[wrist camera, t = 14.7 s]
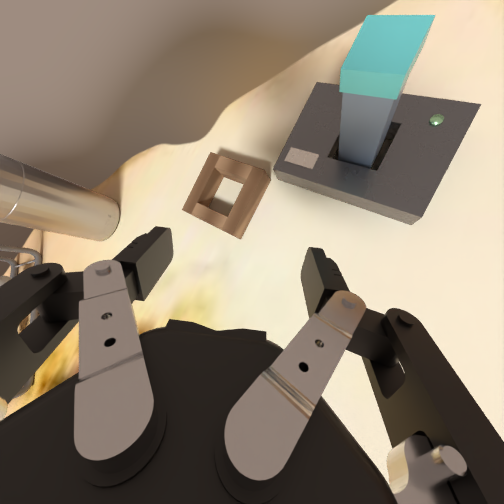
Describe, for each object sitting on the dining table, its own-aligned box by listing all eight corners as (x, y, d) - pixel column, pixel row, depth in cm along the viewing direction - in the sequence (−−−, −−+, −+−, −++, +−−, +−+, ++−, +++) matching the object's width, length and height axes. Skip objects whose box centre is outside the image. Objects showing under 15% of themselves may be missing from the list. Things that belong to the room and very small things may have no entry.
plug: (335, 167, 29) (340, 68, 16) (349, 137, 29) (367, 15, 16) (368, 176, 27) (405, 75, 14) (384, 145, 27) (435, 15, 14)
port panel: (277, 179, 31) (272, 168, 28) (317, 100, 31) (316, 80, 28) (411, 225, 25) (422, 216, 22) (463, 125, 24) (482, 102, 21)
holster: (193, 215, 36) (181, 209, 33) (219, 162, 35) (210, 152, 33) (240, 239, 32) (232, 235, 29) (270, 180, 32) (265, 170, 29)
